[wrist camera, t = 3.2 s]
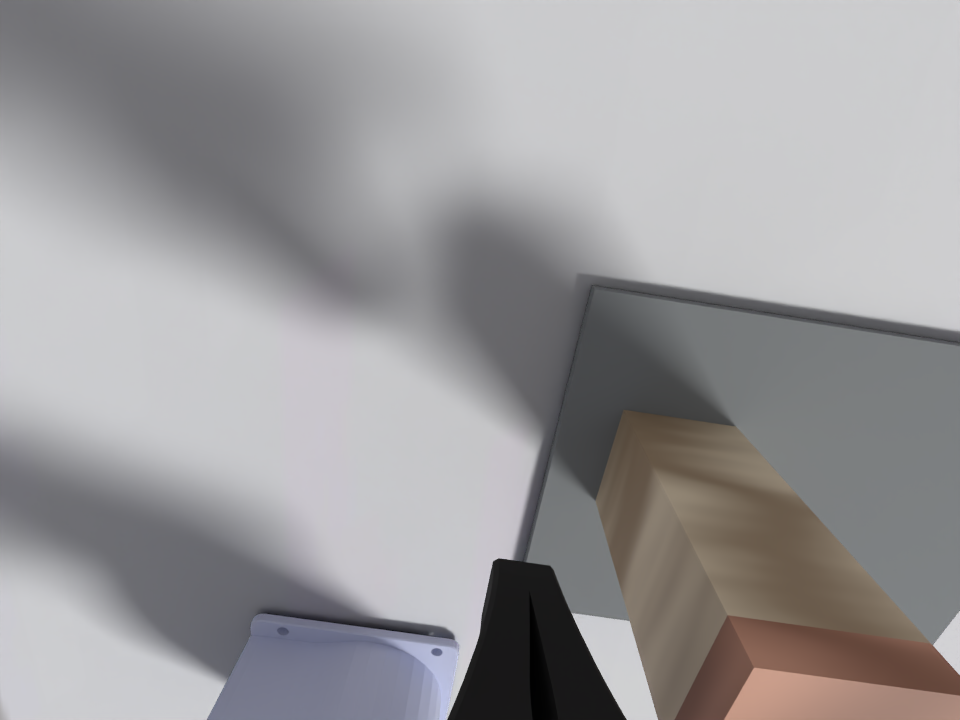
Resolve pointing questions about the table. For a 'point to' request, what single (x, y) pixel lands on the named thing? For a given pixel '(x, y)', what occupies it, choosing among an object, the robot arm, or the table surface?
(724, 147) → the table surface
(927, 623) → the rubber mat
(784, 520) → the maple block
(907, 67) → the table surface
